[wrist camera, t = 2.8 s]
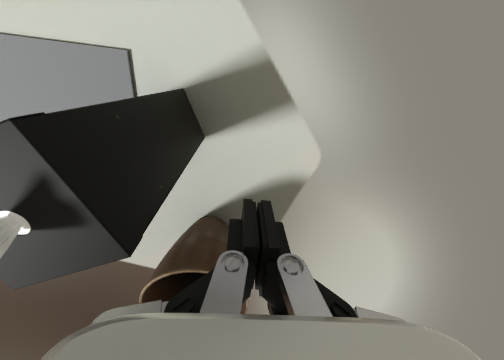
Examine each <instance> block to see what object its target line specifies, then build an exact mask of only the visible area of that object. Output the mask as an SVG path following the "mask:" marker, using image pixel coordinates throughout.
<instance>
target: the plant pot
mask: <svg viewBox="0 0 504 360" xmlns="http://www.w3.org/2000/svg"><path fill="white" fill-rule="evenodd" d="M228 233H229V229H228V227H227V225H226V223H225V222H224V221H222V220H221V219H219V218H216V217H204V218H201V219H199V220H198V221H196V222H195V223H194V224H193V225H192V226H191V227H190V228H189V229H188V230H187V231H186V232H185V233H184V234H183V235H182V236H181V237H180V238H179V239H178V240H177V241H176V243H175V244H174V245H173V246H172V248H171V249H170V250H169V251H168V253H167V254H166V255H165V257H164V258H163V259H162V261H161V262H160V264H159V265H158V267H157V268H156V270H155V271H154V273H153V274H152V276H151V278H150V279H149V281H148V282H147V284H146V285H145V287H144V288H143V291H142V292H141V294H140V298H139V304H142V303H147V302H152V301H158V300H162V302H166V301H170V299H172V298H173V297H174V296H175V295H176V294H178V293H179V292H181V291H182V290H184V289H185V288H187V287H188V286H189V285H191V284H192V283H194V282H195V281H197V280H198V279H199V278H201V277H202V276H204V275H205V274H207V273H208V272H210V271H211V270H212V269H214V268H215V266H216V263H217V260H218V258H219V256H220V255H221V254H222V253H224V252H226V251H227V242H228ZM247 310H248V299H247V300H246V301H245V302H244V303H243V304H242V310H241V314H246V313H247Z"/></svg>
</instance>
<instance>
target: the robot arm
mask: <svg viewBox="0 0 504 360" xmlns="http://www.w3.org/2000/svg"><path fill="white" fill-rule="evenodd" d="M254 279H255V289H258V290H259V295H260V296H263V298H264V299H265V300H266V301H267V302H268V310H269V314H270V315H256V314H241V310H242V304H243V303H244V302H245V301H246V300H247V299H248V298H249V297H250V293H251V289H253V285H254ZM41 360H481V359H480V358H479V357H478V356H477V355H476V354H474V352H472V351H471V350H470V349H469V348H467V347H466V346H465V345H463V344H462V343H460V342H459V341H456V340H455V339H453V338H451V337H449V336H447V335H445V334H443V333H440V332H438V331H435V330H433V329H430V328H428V327H424V326H421V325H417V324H413V323H408V322H406V321H404V320H402V319H400V318H398V317H394V316H390V315H386V314H383V313H379V312H375V311H372V310H367V309H364V308H360V307H355V309H354V308H352V307H351V306H350V305H349V304H348V303H347V302H345V301H344V300H343V299H341V298H340V297H339V296H337V295H336V294H334V293H333V292H332V291H330V290H329V289H328V288H326V287H325V286H323V285H322V284H321V283H319V282H318V281H316V280H315V279H314V278H313V277H312V275H311V273H310V271H309V269H308V267H307V265H306V264H305V262H304V260H302V259H301V258H300V257H299V256H297V255H294V254H291V252H290V249H289V246H288V241H287V238H286V234H285V230H284V226H283V223H282V222H275V219H274V215H273V210H272V206H271V201H266V200H261V202H258V205H257V211H256V202H253V200H252V199H244V200H243V209H242V219H241V220H240V219H230V223H229V233H228V242H227V251H226V252H224V253H222V254H221V255H220V256H219V258H218V260H217V263H216V266H215V268H214V269H212V270H211V271H210V272H208V273H207V274H205V275H204V276H202V277H201V278H199V279H198V280H197V281H195V282H194V283H192V284H191V285H189V286H188V287H187V288H185V289H184V290H182V291H181V292H179V293H178V294H176V295H175V296H174V297H173V298H172V299H170V301H166V302H162V300H158V301H152V302H147V303H142V304H136V305H132V306H126V307H121V308H115V309H111V310H108V311H106V312H104V313H102V314H101V315H100V316H98V317H97V318H96V319H95V320H94V321H93V322H92V324H91V325H90V326H87V327H85V328H83V329H81V330H79V331H77V332H75V333H73V334H71V335H69V336H68V337H66V338H65V339H63V340H62V341H60V342H59V343H58V344H57V345H55V346H54V347H53V348H52V349H51V350H50V351H49V352H48V353H47V354H46V355H45V356H44V357H43V358H42V359H41Z"/></svg>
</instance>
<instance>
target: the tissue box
mask: <svg viewBox="0 0 504 360" xmlns="http://www.w3.org/2000/svg"><path fill="white" fill-rule="evenodd" d="M204 138H205V136H204V134H203V132H202V130H201V127H200V125H199V123H198V121H197V118H196V116H195V114H194V112H193V109H192V107H191V105H190V103H189V100H188V98H187V96H186V93H185V91H184V89H177V90H172V91H167V92H161V93H156V94H150V95H145V96H139V97H134V98H128V99H123V100H117V101H112V102H106V103H101V104H95V105H90V106H84V107H79V108H73V109H68V110H62V111H57V112H51V113H46V114H45V113H44V112H41V113H35V114H30V115H24V116H18V117H12V118H8V119H6V120H3V121H1V122H0V280H1V281H3V282H4V283H6V284H7V285H9V286H10V287H11V288H13V289H18V288H22V287H26V286H29V285H33V284H36V283H40V282H43V281H47V280H50V279H54V278H58V277H61V276H65V275H68V274H71V273H75V272H79V271H82V270H86V269H89V268H93V267H96V266H100V265H103V264H107V263H110V262H114V261H118V260H121V259H125V258H128V257H131V255H132V254H133V252H134V250H135V249H136V247H137V246H138V244H139V242H140V241H141V239H142V237H143V233H144V232H145V230H146V229H147V227H148V226H149V224H150V223H151V221H152V219H153V218H154V216H155V215H156V213H157V212H158V210H159V208H160V207H161V205H162V204H163V202H164V201H165V199H166V197H167V196H168V194H169V193H170V191H171V190H172V188H173V186H174V185H175V183H176V182H177V180H178V179H179V177H180V175H181V174H182V172H183V171H184V169H185V168H186V166H187V165H188V163H189V161H190V160H191V158H192V157H193V155H194V154H195V152H196V150H197V149H198V147H199V146H200V144H201V143H202V141H203V139H204Z"/></svg>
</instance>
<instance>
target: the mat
mask: <svg viewBox="0 0 504 360" xmlns="http://www.w3.org/2000/svg"><path fill="white" fill-rule="evenodd" d="M134 97H135V95H134V88H133V81H132V74H131V67H130V60H129V53H128V50H121V49H114V48H106V47H98V46H91V45H83V44H75V43H67V42H60V41H52V40H44V39H36V38H29V37H21V36H13V35H6V34H0V122H1V121H3V120H6V119H8V118H12V117H18V116H24V115H30V114H35V113H41V112H44V113H45V114H46V113H51V112H57V111H62V110H68V109H73V108H79V107H84V106H90V105H95V104H101V103H106V102H112V101H117V100H123V99H128V98H134Z"/></svg>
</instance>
